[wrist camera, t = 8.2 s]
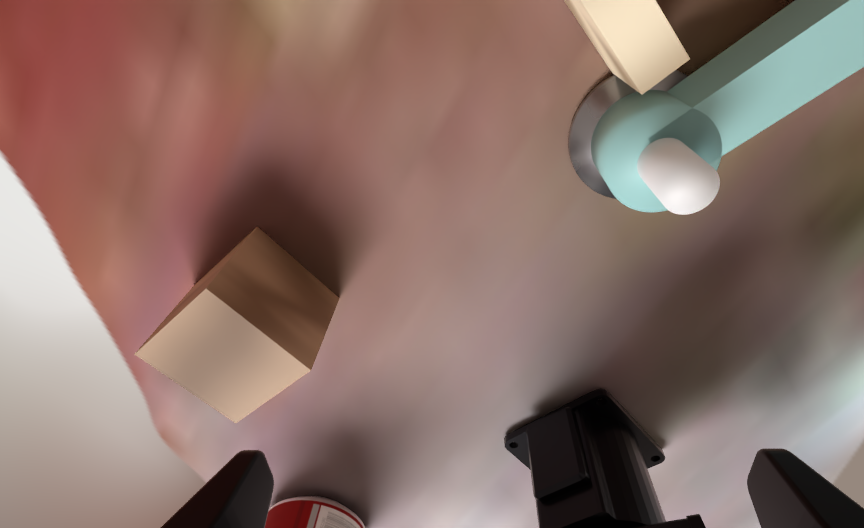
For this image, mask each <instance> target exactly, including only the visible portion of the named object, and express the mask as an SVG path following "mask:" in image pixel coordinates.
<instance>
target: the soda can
mask: <svg viewBox="0 0 864 528" xmlns="http://www.w3.org/2000/svg"><path fill="white" fill-rule="evenodd" d="M265 528H365V526H364V524H363V522H362V521H361V519H360V518H359V517H358V516H357V515H356V514H355V513H354V512H352V511H351V510H350V509H348V508H347V507H345V506H344V505H342V504H340V503H339V502H337V501H334V500H332V499H329V498H325V497H320V496H301V497H293V498H288V499H285V500H282V501H280V502H278V503H276V504H275V505H273V506H272V507H271V508H270V509H269V510H268V515H267V519H266V524H265Z"/></svg>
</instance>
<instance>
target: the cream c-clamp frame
mask: <svg viewBox="0 0 864 528" xmlns="http://www.w3.org/2000/svg"><path fill="white" fill-rule="evenodd" d="M564 1H565V3H566V4H567V6H568V7H569V9H570V10H571V12H572V13H573V15H574V16H575V18H576V19H577V21H578V22H579V24H580V25H581V27H582V28H583V30H584V31H585V33H586V34H587V36H588V37H589V39H590V40H591V42H592V43H593V45H594V46H595V48H596V49H597V51H598V52H599V54H600V55H601V57H602V58H603V60H604V61H605V63H606V64H607V66H608V67H609V69H610V70H611V72H612V73H613V74H614V75H616V76H617V77H618V78H620V79H621V80H622V81H624V82H625V83H627V84H628V85H629V86H631V87H632V88H633V89H635V90H636V91H637V92H639V93H640V94H644V93H645V92H647V91H648V90H649V89H651V88H652V87H653V86H655V85H656V84H657V83H659V82H660V81H661V80H663V79H664V78H665V77H667V76H668V75H669V74H671V73H672V72H674V71H675V70H676V69H678V68H679V67H680V66H682V65H683V64H684V63H686V62H687V61H688V60H690V58H689V56H688V54H687V53H686V51H685V49H684V48H683V46H682V44H681V42H680V41H679V39H678V37H677V36H676V34H675V32H674V31H673V29H672V27H671V25H670V24H669V22H668V20H667V19H666V17H665V15H664V14H663V12H662V10H661V9H660V7H659V5H658V3H657V2H656V0H564Z"/></svg>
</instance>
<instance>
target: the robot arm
mask: <svg viewBox="0 0 864 528" xmlns="http://www.w3.org/2000/svg"><path fill="white" fill-rule="evenodd" d="M598 399H601V400H598ZM504 441H505V447H506V449H507V450H508V451H510V452H511V453H512V454H513V455H514V456H515V457H516V458H518V459H519V460H520V461H521V462H522V463H523V464H524V465H526V466H527V467H528V468H529V469H530V470H531V477H532V485H533V493H534V497H535V499H536V507H537V515H538V523H539V528H706V527H705V525H704V523H703V521H702V519H701V517H700V515H699V514H696V515H690V516H686V517H687V518H686V519H680V520H674V521H668V522H666V520H665V518H664V515H663V512H662V509H661V506H660V503H659V501H658V498H657V495H656V492H655V489H654V487H653V484H652V481H651V478H650V475H649V472H648V470H647V469H648V468H650V467H653V466H655V465H657V464H660V463H662V462H663V461H664V460H665V456H664V453H663V451H662V449H661V448H660V447H659V446H658V445H657V444H656V443H655V441H654V440H653V439H652V438H651V437H650V436H649V435H648V434H647V433H646V432H645V431H644V430H643V429H642V428H641V427H640V425H639V424H638V423H637V422H636V421H635V420H634V419H633V418H632V417H631V416H630V415H629V414H628V413H627V412H626V411H625V409H624V408H623V407H622V406H621V405H620V404H619V403H618V402H617V401H616V400H615V399H614V398H613V397H612V396H611V395H610V393H609V392H607V391H606V390H603V389H598V390H595V391H593V392H591V393H589V394H587V395H585V396H583V397H581V398H579V399H577V400H575V401H573V402H571V403H569V404H567V405H565V406H563V407H561V408H559V409H557V410H555V411H553V412H551V413H549V414H547V415H545V416H543V417H541V418H539V419H537V420H535V421H533V422H531V423H529V424H527V425H525V426H524V427H522V428H520V429H518V430H516V431H514V432H512V433H510V434H508V435H506V436H505V438H504ZM747 485H748V491H749V494H750V497H751V500H752V502H753V505H754V508H755V511H756V514H757V517H758V519H759V522H760V525H761V528H864V508H862V507H861V506H860V505H859V504H857V503H856V502H855V501H853V500H852V499H851V498H849V497H848V496H847V495H846V494H844V493H843V492H842V491H840V490H839V489H838V488H836V487H835V486H834V485H833V484H831V483H830V482H829V481H827V480H826V479H825V478H824V477H822V476H821V475H820V474H818V473H817V472H816V471H815V470H813V469H812V468H811V467H809V466H808V465H807V464H805V463H804V462H803V461H802V460H800V459H799V458H798V457H796V456H795V455H794V454H792V453H791V452H789V451H787V450H785V449H761V450H759V451H758V452H757V454H756V457H755V459H754V462H753V465H752V467H751V470H750V473H749V475H748V480H747ZM273 486H274V480H273V475H272V473H271V470H270V468H269V465H268V463H267V460H266V458H265V455H264V453H263V452H261V451H259V450H244V451H241V452H239V453H237V454H236V455H235V456H234V457H233V458H232V459H231V460H230V461H229V462H228V463H227V464H226V465H225V466H224V467H223V468H222V469H221V470H220V471H219V472H218V473H217V474H216V475H215V476H213V477H212V478H211V479H210V480H209V481H208V482H207V483H206V484H205V485H204V486H203V487H202V488H201V489H200V490H199V491H198V492H197V493H196V494H195V495H194V496H193V497H192V498H191V499H190V500H189V501H188V502H187V503H186V504H185V505H184V506H183V507H181V509H179V510H178V512H176V513H175V514H174V515H173V517H171V518H170V519H169V520H168V521H167V522H166V523H165V524H164V525H163V526H162V527H161V528H265V524H266V519H267V515H268V510H269V506H270V501H271V497H272V492H273Z"/></svg>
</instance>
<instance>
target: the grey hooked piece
mask: <svg viewBox="0 0 864 528" xmlns="http://www.w3.org/2000/svg"><path fill="white" fill-rule="evenodd" d="M687 77H688V76H686V75H685V74H683V73H681V72H679V71H677V70H675V71H674V72H672V73H671V74H669V75H668V76H667V77H665V78H664V79H663V80H661V81H660V82H659V83H657V84H656V85H655V86H653V87H652V88H651V89H649V90H661V91H666V92H667V91H668V90H670V89H671V88H673V87H674V86H675V85H677V84H678V83H680V82H681V81H682V80H684V79H685V78H687ZM635 92H637V91H636V90H635V89H633V88H632V87H631V86H629V85H628V84H627V83H625V82H624V81H622V80H621V79H620V78H618V77H617V76H616V75H614V74H613V75H611V76H609V77H608V78H606V79H605V80H603V81H602V82H600V83H599V84H598V85H597V86H596V87H595V88H594V89H592V91H591V92H590V93H589V94H588V95H587V96H586V97H585V99H584V100H583V101H582V103H581V104H580V106H579V107H578V109H577V111H576V113H575V115H574V118H573V120H572V123H571V127H570V131H569V138H568V148H569V155H570V159H571V162H572V164H573V167H574V169H575V171H576V173H577V174H578V176H579V177H580V179H581V180H582V181H583V182H584V183H585V184H586V185H587V186H588V187H590V188H591V189H592V190H594V191H596V192H597V193H599V194H602V195H604V196H607V197H611V198H615V199H617V198H616V197H615V196H614V195H613V193H612V192H611V190H610V189H609V187H608V186H607V184H606V182H605V181H604V179H603V178H602V176H601V175H600V173H599V171H598V170H597V168H596V167H595V165H594V162H593V159H592V155H591V140H592V135H593V132H594V129H595V127H596V125H597V123H598V121H599V120H600V118H601V117H602V115H603V114H604V113H605V112H606V111H607V110H608V108H609V107H610V106H612V105H613V104H614V103H615V102H617V101H618V100H620V99H621V98H623V97H625V96H627V95H629V94H632V93H635Z"/></svg>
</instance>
